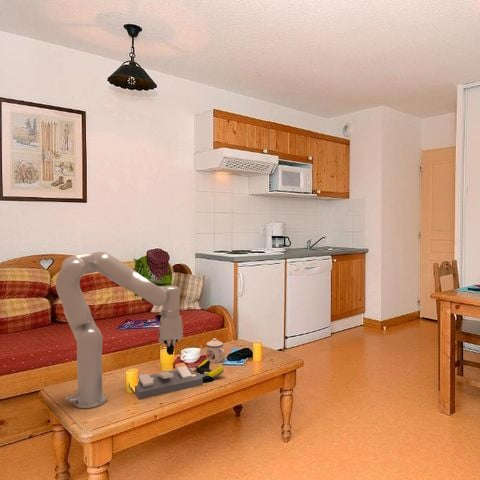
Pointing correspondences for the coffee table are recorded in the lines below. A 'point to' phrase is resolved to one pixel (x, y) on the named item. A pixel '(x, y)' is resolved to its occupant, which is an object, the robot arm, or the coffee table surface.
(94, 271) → the robot arm
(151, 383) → the rocker left
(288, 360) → the coffee table surface
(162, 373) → the rocker middle
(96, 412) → the coffee table surface
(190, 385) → the switch panel
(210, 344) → the teacup with lid
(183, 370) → the rocker right
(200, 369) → the yellow black spring clamp
